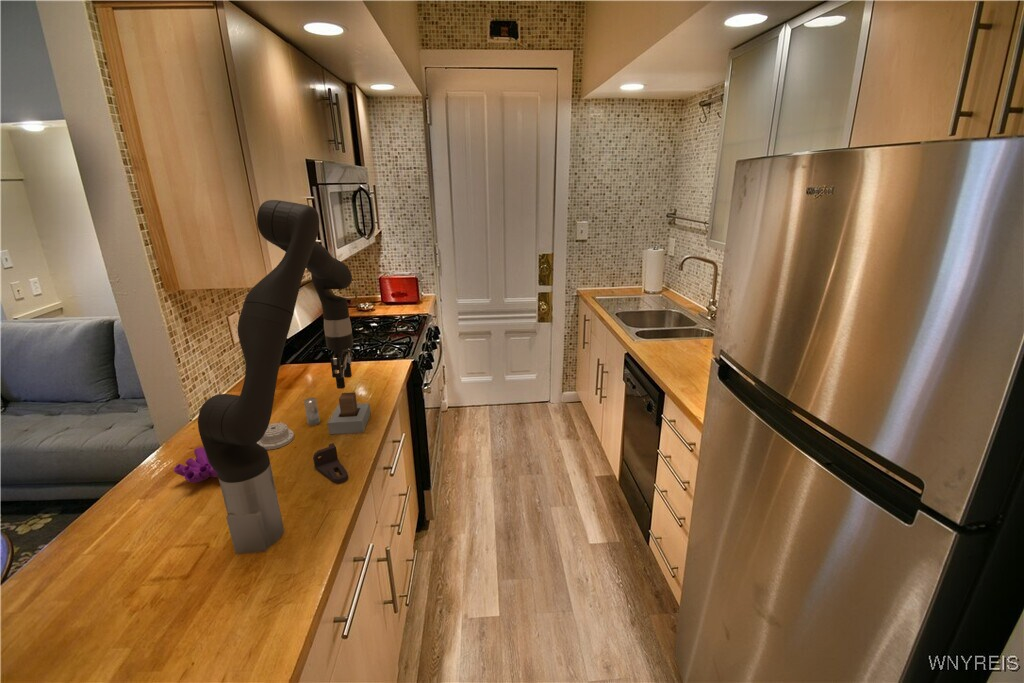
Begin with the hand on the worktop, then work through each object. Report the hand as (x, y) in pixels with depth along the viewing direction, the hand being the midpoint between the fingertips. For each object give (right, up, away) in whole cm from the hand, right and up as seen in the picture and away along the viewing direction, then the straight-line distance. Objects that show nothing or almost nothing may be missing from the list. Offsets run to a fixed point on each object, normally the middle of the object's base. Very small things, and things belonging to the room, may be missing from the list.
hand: (344, 382), depth 137 cm
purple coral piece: (-27, -23, -21) cm, 41 cm away
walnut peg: (0, -14, +5) cm, 14 cm away
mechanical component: (-19, -17, -5) cm, 26 cm away
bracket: (+4, -22, -19) cm, 30 cm away
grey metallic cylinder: (-12, -13, +5) cm, 19 cm away
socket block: (0, -14, +5) cm, 14 cm away
